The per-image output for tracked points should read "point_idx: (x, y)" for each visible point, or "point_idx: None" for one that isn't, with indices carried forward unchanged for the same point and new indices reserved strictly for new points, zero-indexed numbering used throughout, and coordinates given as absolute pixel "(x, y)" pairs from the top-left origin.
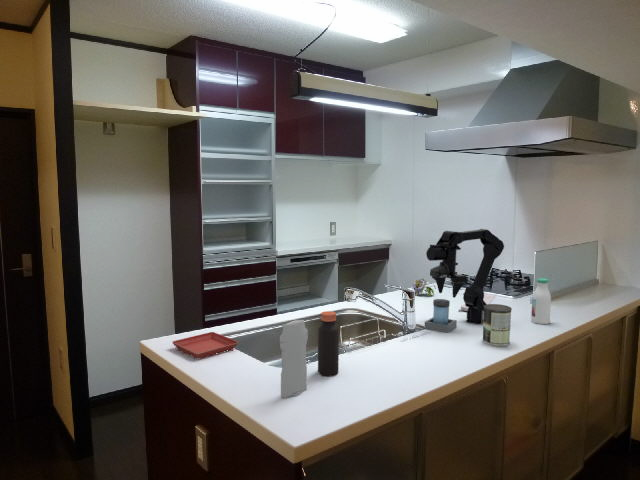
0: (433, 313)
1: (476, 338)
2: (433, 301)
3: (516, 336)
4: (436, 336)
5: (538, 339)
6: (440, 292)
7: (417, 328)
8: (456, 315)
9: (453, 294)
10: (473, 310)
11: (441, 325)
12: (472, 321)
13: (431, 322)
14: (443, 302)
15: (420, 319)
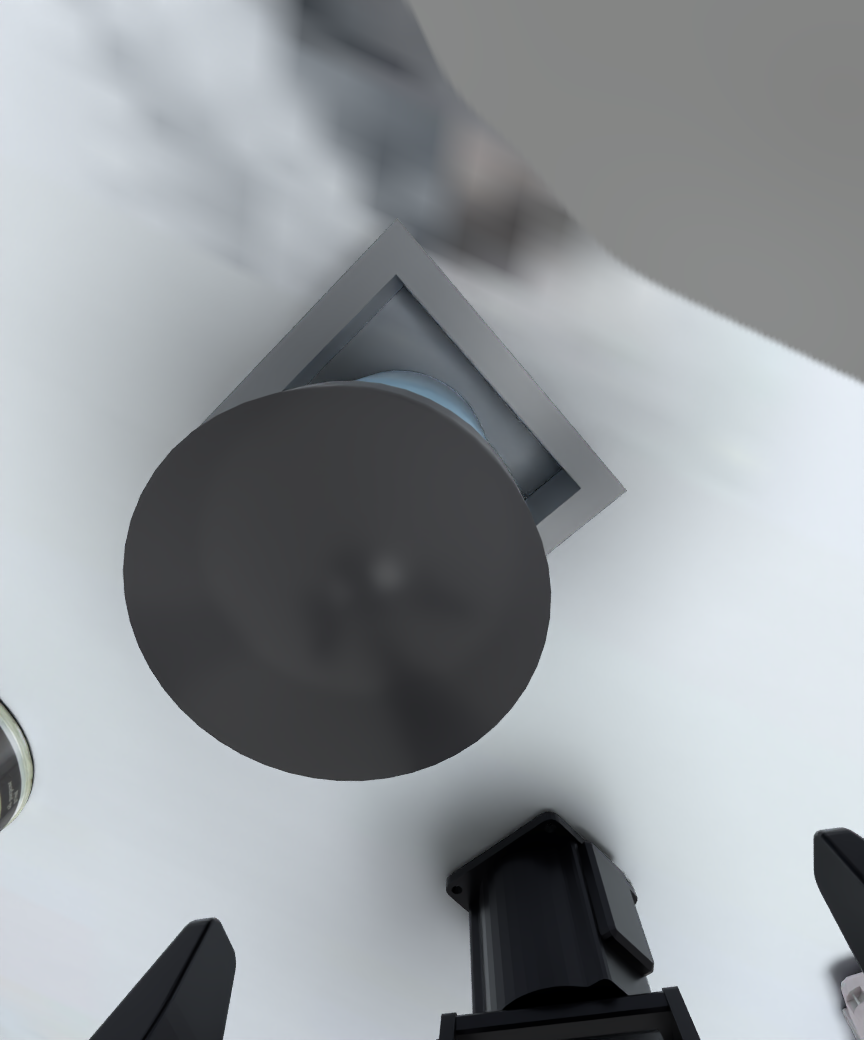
0: (423, 389)
1: (10, 644)
2: (391, 395)
3: (77, 950)
4: (67, 251)
5: (7, 1032)
6: (826, 865)
7: (424, 135)
8: (800, 828)
9: (113, 1012)
10: (518, 980)
11: (222, 407)
12: (508, 853)
13: (340, 311)
14: (146, 574)
15: (810, 369)
